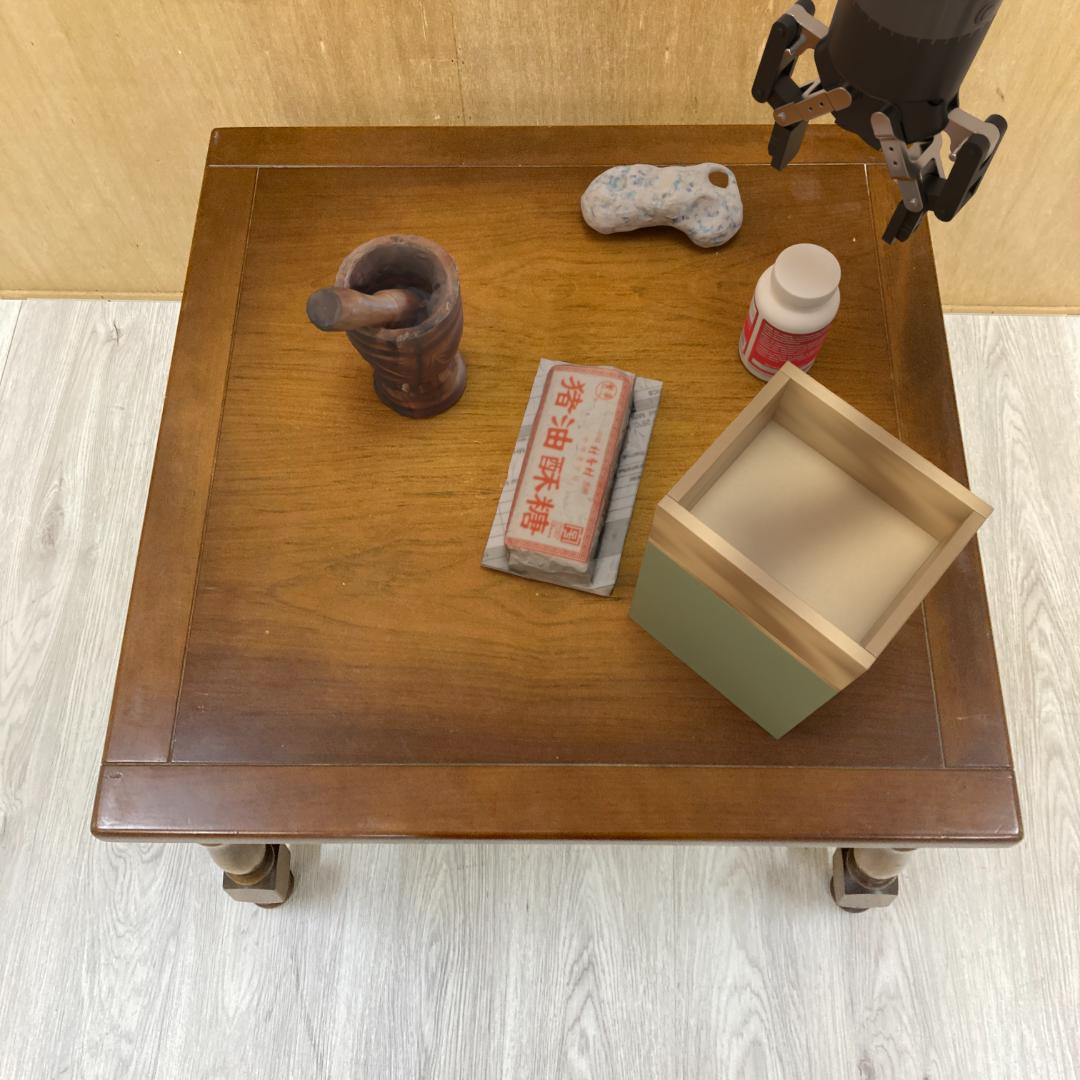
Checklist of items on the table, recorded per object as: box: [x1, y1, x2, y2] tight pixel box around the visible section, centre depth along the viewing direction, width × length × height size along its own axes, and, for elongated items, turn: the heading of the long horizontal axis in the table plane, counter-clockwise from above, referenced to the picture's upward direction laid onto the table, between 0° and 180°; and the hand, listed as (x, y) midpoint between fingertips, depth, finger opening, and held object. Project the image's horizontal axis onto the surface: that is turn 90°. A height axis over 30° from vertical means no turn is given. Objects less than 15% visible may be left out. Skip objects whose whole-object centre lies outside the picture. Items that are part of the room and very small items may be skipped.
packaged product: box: [480, 357, 664, 597], centre depth 76 cm, size 18×5×10 cm
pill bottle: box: [738, 242, 842, 383], centre depth 77 cm, size 6×6×11 cm
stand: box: [627, 540, 840, 740], centre depth 67 cm, size 14×12×16 cm
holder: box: [647, 361, 995, 693], centre depth 57 cm, size 14×12×6 cm
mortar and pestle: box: [305, 233, 467, 419], centre depth 71 cm, size 12×9×20 cm
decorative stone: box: [580, 162, 744, 249], centre depth 84 cm, size 13×7×5 cm, turn 94°
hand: (837, 196), depth 64 cm, fingers open, 8 cm apart
